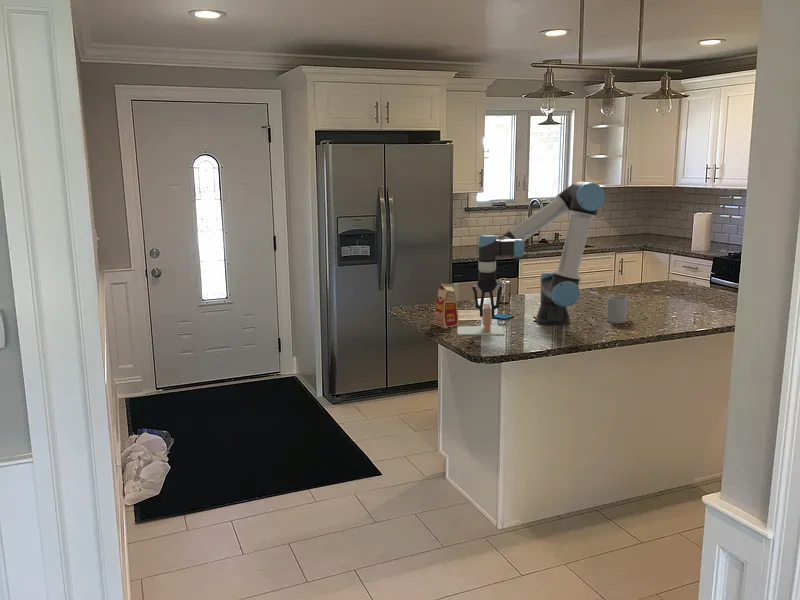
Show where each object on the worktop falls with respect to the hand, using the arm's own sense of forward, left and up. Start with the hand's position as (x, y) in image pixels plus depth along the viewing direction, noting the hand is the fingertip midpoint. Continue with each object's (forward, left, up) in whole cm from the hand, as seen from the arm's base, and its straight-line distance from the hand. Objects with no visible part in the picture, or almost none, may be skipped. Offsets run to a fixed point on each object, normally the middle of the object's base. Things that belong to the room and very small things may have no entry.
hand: (487, 323), depth 298 cm
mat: (+3, 0, -3) cm, 4 cm away
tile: (0, 0, -2) cm, 2 cm away
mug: (-61, -19, -4) cm, 64 cm away
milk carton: (+18, -12, -4) cm, 22 cm away
